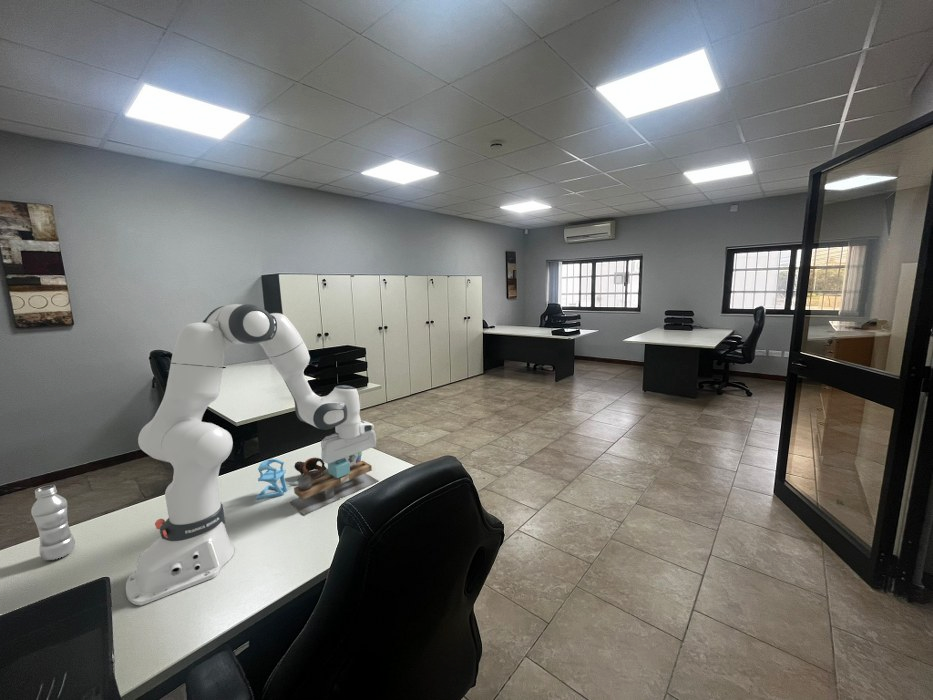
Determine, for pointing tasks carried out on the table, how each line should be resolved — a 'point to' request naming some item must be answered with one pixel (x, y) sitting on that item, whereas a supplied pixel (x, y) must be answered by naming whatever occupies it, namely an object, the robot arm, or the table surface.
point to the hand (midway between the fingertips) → (351, 465)
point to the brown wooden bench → (330, 488)
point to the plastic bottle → (52, 523)
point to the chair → (272, 478)
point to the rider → (339, 468)
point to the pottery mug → (310, 467)
